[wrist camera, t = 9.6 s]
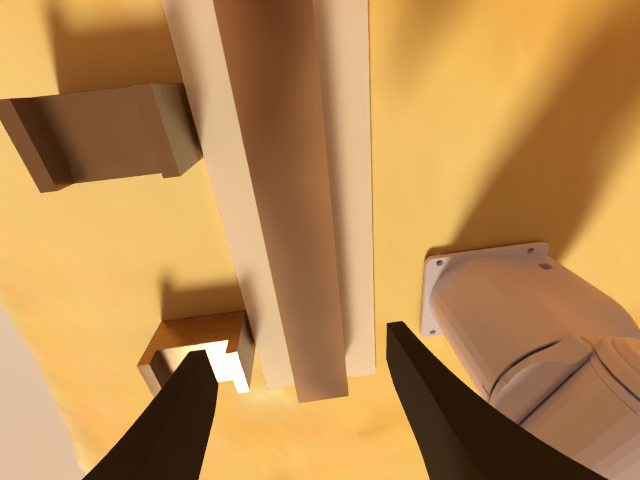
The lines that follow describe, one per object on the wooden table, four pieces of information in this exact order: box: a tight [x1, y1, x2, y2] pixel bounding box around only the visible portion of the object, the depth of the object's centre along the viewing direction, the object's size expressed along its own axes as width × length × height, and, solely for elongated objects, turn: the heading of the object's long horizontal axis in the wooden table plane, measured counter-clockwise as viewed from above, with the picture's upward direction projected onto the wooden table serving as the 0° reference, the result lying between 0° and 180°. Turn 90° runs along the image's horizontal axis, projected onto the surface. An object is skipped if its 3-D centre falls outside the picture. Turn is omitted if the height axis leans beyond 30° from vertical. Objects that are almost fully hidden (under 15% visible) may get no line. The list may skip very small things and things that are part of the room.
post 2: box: [137, 311, 255, 398], centre depth 23 cm, size 7×4×4 cm, turn 96°
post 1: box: [0, 83, 203, 193], centre depth 15 cm, size 7×4×4 cm, turn 96°
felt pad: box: [161, 0, 375, 389], centre depth 21 cm, size 10×30×1 cm, turn 6°
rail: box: [213, 0, 349, 403], centre depth 19 cm, size 4×26×3 cm, turn 6°
